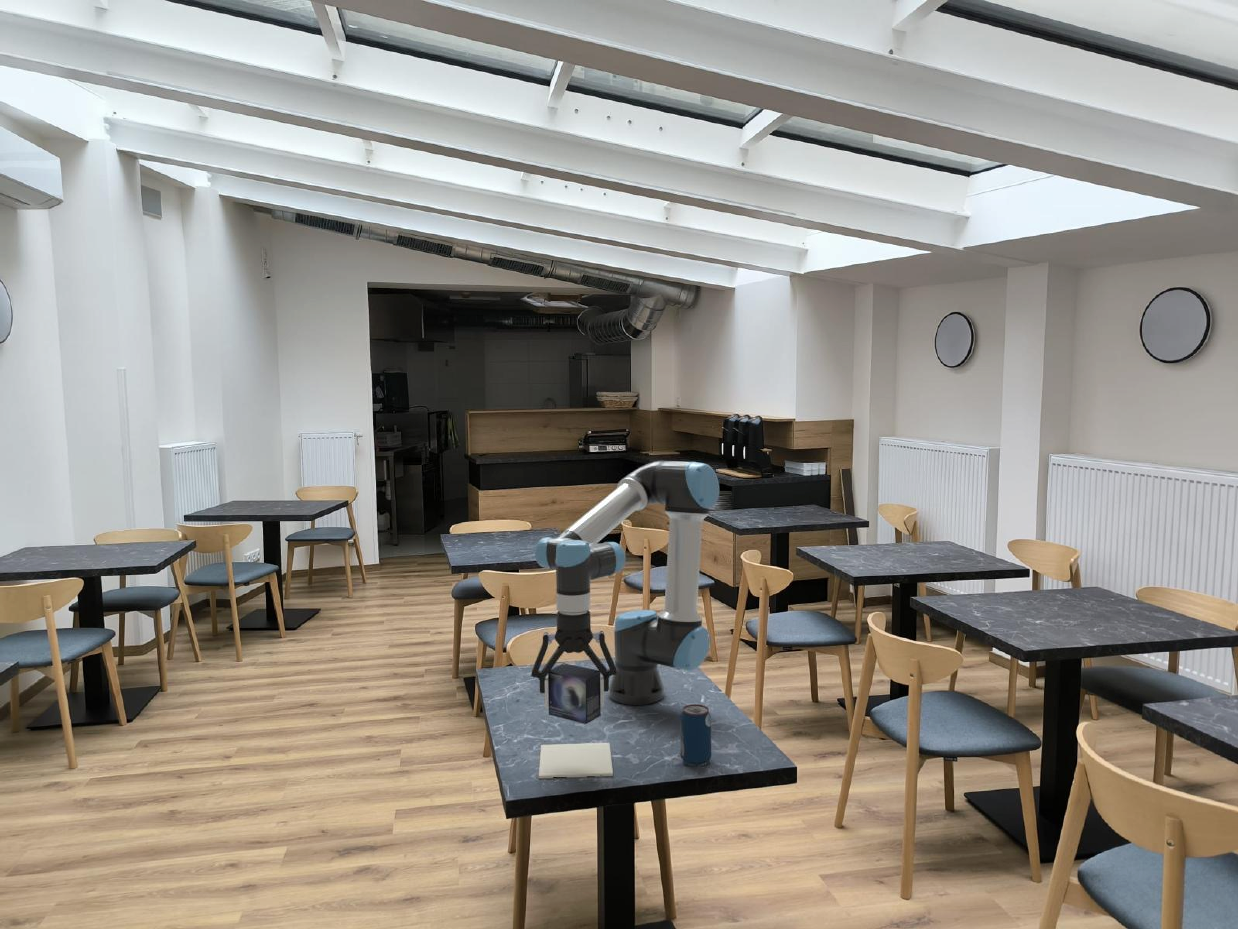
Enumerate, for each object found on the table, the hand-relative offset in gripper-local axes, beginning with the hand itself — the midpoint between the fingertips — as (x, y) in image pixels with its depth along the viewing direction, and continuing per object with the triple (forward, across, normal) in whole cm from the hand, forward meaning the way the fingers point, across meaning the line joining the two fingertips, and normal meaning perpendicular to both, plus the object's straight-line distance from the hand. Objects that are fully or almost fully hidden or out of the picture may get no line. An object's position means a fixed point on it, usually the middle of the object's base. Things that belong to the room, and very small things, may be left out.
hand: (574, 706), depth 188 cm
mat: (+13, 0, 0) cm, 13 cm away
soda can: (+13, -27, +2) cm, 30 cm away
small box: (+2, 0, 0) cm, 2 cm away
